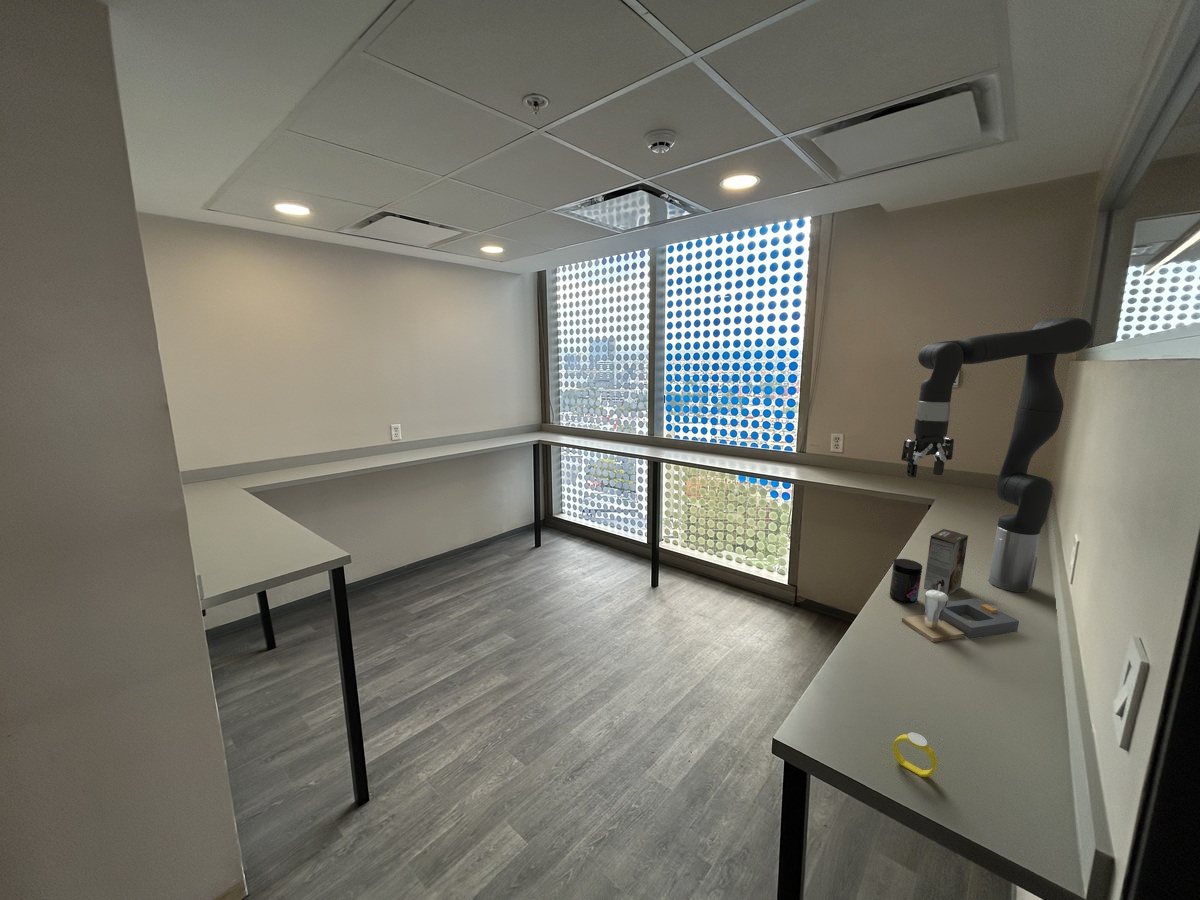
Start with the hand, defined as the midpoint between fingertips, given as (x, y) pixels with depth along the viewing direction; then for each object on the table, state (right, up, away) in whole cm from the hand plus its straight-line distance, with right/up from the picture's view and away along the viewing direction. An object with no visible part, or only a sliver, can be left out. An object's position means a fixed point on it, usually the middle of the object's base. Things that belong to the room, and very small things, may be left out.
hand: (924, 475), depth 133 cm
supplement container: (-6, -34, -1) cm, 35 cm away
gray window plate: (+3, -36, -13) cm, 39 cm away
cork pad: (-8, -37, -15) cm, 41 cm away
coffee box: (+9, -33, +6) cm, 34 cm away
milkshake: (-8, -36, -15) cm, 40 cm away
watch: (-39, -46, -54) cm, 81 cm away
